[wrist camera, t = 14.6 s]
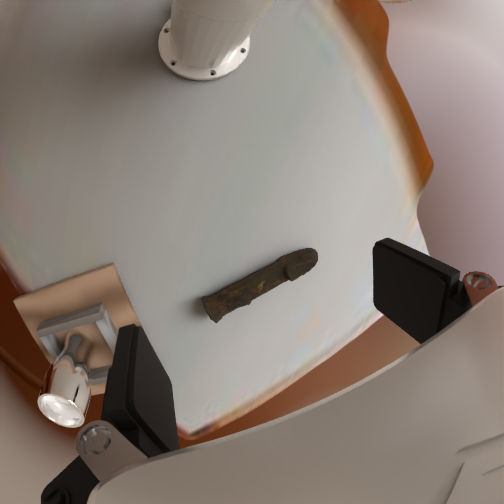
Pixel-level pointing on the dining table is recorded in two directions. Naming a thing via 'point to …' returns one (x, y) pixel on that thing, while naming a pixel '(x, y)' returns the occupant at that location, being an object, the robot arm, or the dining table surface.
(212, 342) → the dining table surface
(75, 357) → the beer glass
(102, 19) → the dining table surface
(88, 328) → the glass dock
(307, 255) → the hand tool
